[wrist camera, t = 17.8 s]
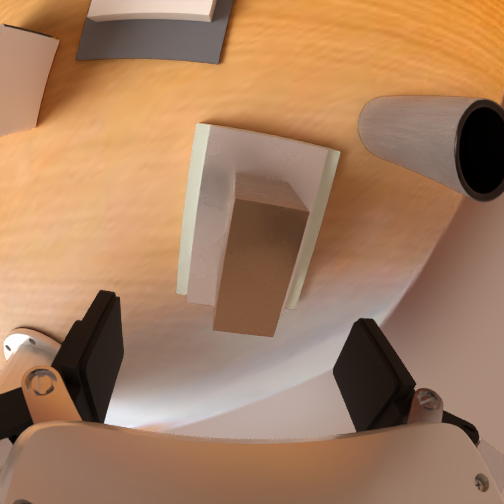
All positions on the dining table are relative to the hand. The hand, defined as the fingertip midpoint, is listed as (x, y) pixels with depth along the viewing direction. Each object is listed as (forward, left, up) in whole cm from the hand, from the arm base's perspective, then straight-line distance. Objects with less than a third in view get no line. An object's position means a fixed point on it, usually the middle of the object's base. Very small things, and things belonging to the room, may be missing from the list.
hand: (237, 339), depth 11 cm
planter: (+10, -9, -11) cm, 17 cm away
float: (+1, -1, -10) cm, 10 cm away
